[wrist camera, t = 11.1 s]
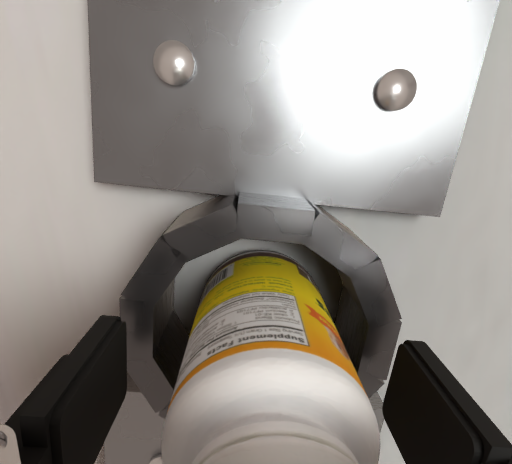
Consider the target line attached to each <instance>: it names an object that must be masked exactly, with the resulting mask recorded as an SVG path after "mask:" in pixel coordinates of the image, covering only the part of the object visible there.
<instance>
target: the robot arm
mask: <svg viewBox="0 0 512 464" xmlns="http://www.w3.org/2000/svg"><path fill="white" fill-rule="evenodd" d="M126 392H127V327H126V322H124V321H121V317H118V316H106V315H102V316H101V317H100V318H99V319H98V320H97V321H96V322H95V324H94V325H93V326H92V327H91V329H90V330H89V331H88V332H87V333H86V335H85V336H84V337H83V338H82V339H81V341H80V342H79V343H78V344H77V346H76V347H75V348H74V349H73V350H72V352H71V353H70V354H69V355H64V356H63V357H62V358H60V359H59V361H58V362H57V363H56V364H55V365H54V366H53V368H52V369H51V370H50V371H49V372H48V374H47V375H46V376H45V377H44V378H43V379H42V381H41V382H40V383H39V384H38V385H37V386H36V388H35V389H34V390H33V391H32V392H31V394H30V395H29V396H28V397H27V398H26V399H25V401H24V402H23V403H22V404H21V405H20V407H19V408H18V409H17V410H16V411H15V412H14V414H13V415H12V416H11V417H10V418H9V419H8V421H7V422H6V423H5V424H4V425H2V424H0V464H94V462H95V460H96V458H97V456H98V454H99V452H100V450H101V448H102V445H103V443H104V441H105V439H106V437H107V435H108V433H109V431H110V429H111V427H112V424H113V422H114V420H115V418H116V416H117V414H118V412H119V410H120V408H121V405H122V403H123V401H124V399H125V396H126ZM382 412H383V416H384V419H385V421H386V423H387V425H388V427H389V429H390V432H391V434H392V436H393V438H394V440H395V442H396V444H397V446H398V448H399V450H400V453H401V455H402V457H403V459H404V461H405V463H406V464H512V444H511V443H510V442H509V441H508V440H507V438H506V437H505V436H504V435H503V434H502V433H501V431H500V430H499V429H498V428H497V427H496V426H495V424H494V423H493V422H492V421H491V420H490V418H489V417H488V416H487V415H486V414H485V413H484V411H483V410H482V409H481V408H480V407H479V405H478V404H477V403H476V402H475V401H474V400H473V398H472V397H471V396H470V395H469V394H468V392H467V391H466V390H465V389H464V388H463V387H462V385H461V384H460V383H459V382H458V381H457V380H456V378H455V377H454V376H453V375H452V374H451V372H450V371H449V370H448V369H447V368H446V367H445V365H444V364H443V363H442V362H441V361H440V359H439V358H438V357H437V356H436V355H435V354H434V352H433V351H432V350H431V349H430V348H429V347H428V345H427V344H426V343H425V342H422V341H411V340H406V341H405V342H404V343H403V344H400V345H399V347H398V350H397V354H396V358H395V362H394V365H393V369H392V373H391V376H390V380H389V384H388V387H387V391H386V395H385V398H384V402H383V406H382Z"/></svg>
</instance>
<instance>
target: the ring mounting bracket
mask: <svg viewBox="0 0 512 464" xmlns="http://www.w3.org/2000/svg"><path fill="white" fill-rule="evenodd" d="M499 2H500V0H88V22H89V49H90V77H91V104H92V131H93V158H94V182H100V183H110V184H120V185H130V186H140V187H150V188H159V189H169V190H179V191H189V192H199V193H209V194H219V196H217V197H215V198H213V199H210V200H208V201H206V202H204V203H201V204H199V205H197V206H195V207H193V208H190V209H188V210H186V211H184V212H183V213H182V214H180V215H179V216H178V217H177V218H176V220H175V221H174V222H173V223H172V224H171V225H170V226H169V227H168V229H167V230H166V231H165V232H164V233H163V234H162V235H161V237H160V238H159V239H158V240H157V242H156V243H155V245H154V246H153V248H152V249H151V251H150V252H149V254H148V255H147V257H146V258H145V260H144V261H143V263H142V264H141V266H140V267H139V269H138V270H137V272H136V273H135V274H134V276H133V277H132V279H131V280H130V282H129V283H128V285H127V286H126V288H125V289H124V291H123V292H122V294H121V295H122V297H121V298H120V317H121V321H124V322H126V327H127V372H128V373H127V392H126V396H125V399H124V401H123V403H122V405H121V408H120V410H119V412H118V414H117V416H116V418H115V420H114V422H113V424H112V427H111V429H110V431H109V433H108V435H107V437H106V439H105V441H104V457H105V464H163V461H162V452H161V442H162V434H163V428H164V423H165V419H166V415H167V411H168V408H169V405H170V401H171V398H172V394H173V391H174V387H175V384H176V381H177V378H178V374H179V371H180V367H181V364H182V360H183V357H184V354H185V350H186V347H187V343H188V340H189V335H188V334H187V332H186V330H185V329H184V327H183V325H182V324H181V322H180V320H179V318H178V317H177V315H176V313H175V312H174V310H173V306H174V279H175V276H176V275H177V274H178V272H179V271H180V269H181V268H182V267H183V265H184V264H185V263H186V262H188V261H190V260H192V259H195V258H197V257H199V256H202V255H204V254H206V253H209V252H211V251H213V250H216V249H218V248H220V247H223V246H225V245H227V244H230V243H232V242H234V241H237V240H239V239H241V238H242V239H253V240H263V241H274V242H284V243H295V244H304V245H305V246H307V247H308V248H309V249H311V250H312V251H314V252H315V253H316V254H318V255H319V256H321V257H322V258H324V259H325V260H326V261H328V262H329V263H331V264H332V265H333V266H335V267H336V268H337V270H338V273H339V275H340V278H341V280H342V282H343V287H342V292H341V297H340V302H339V307H338V312H337V317H336V322H335V326H336V329H337V331H338V334H339V336H340V338H341V340H342V342H343V344H344V347H345V349H346V351H347V353H348V355H349V357H350V359H351V362H352V364H353V366H354V368H355V370H356V372H357V375H358V377H359V379H360V381H361V383H362V386H363V388H364V390H365V392H366V394H367V396H368V398H369V401H370V403H371V406H372V408H373V411H374V413H375V416H376V419H377V423H378V427H379V433H380V431H381V428H382V424H383V421H384V416H383V412H382V406H383V402H382V400H381V398H380V396H379V394H378V392H376V391H377V390H378V389H379V388H380V387H381V386H382V385H383V384H384V382H383V380H387V376H388V372H389V368H390V365H391V361H392V357H393V354H394V350H395V346H396V342H397V339H398V335H399V331H400V327H401V324H402V322H401V321H400V320H399V319H402V318H401V315H400V312H399V310H398V307H397V304H396V301H395V298H394V296H393V293H392V290H391V287H390V284H389V281H388V279H387V276H386V273H385V270H384V267H383V264H382V262H381V259H380V258H379V257H378V255H377V254H376V253H375V252H374V251H373V250H372V249H370V248H369V247H368V246H367V245H366V244H365V243H364V242H363V241H362V240H361V239H360V238H359V237H358V236H357V235H355V234H354V233H353V232H352V231H351V230H350V229H349V228H348V227H347V226H345V225H344V224H342V223H341V222H340V221H338V220H337V219H336V218H334V217H333V216H332V215H330V214H329V213H328V212H326V211H325V210H324V209H322V208H321V207H320V206H318V205H327V206H337V207H347V208H356V209H366V210H376V211H386V212H396V213H406V214H416V215H425V216H435V217H440V215H441V211H442V208H443V204H444V200H445V197H446V193H447V190H448V186H449V182H450V179H451V175H452V172H453V168H454V164H455V161H456V157H457V154H458V150H459V146H460V143H461V139H462V135H463V132H464V128H465V125H466V121H467V117H468V114H469V110H470V107H471V103H472V99H473V96H474V92H475V89H476V85H477V81H478V78H479V74H480V71H481V67H482V63H483V60H484V56H485V52H486V49H487V45H488V42H489V38H490V34H491V31H492V27H493V24H494V20H495V16H496V13H497V9H498V6H499Z"/></svg>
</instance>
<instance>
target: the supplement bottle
mask: <svg viewBox="0 0 512 464" xmlns="http://www.w3.org/2000/svg"><path fill="white" fill-rule="evenodd" d="M161 452H162V461H163V464H378V460H379V454H380V433H379V427H378V423H377V419H376V416H375V413H374V411H373V408H372V406H371V403H370V401H369V398H368V396H367V394H366V392H365V390H364V388H363V386H362V383H361V381H360V379H359V377H358V375H357V372H356V370H355V368H354V366H353V364H352V362H351V359H350V357H349V355H348V353H347V351H346V349H345V347H344V344H343V342H342V340H341V338H340V336H339V334H338V331H337V329H336V326H335V324H334V323H333V320H332V318H331V316H330V314H329V312H328V310H327V308H326V305H325V303H324V301H323V299H322V297H321V295H320V292H319V290H318V288H317V286H316V284H315V282H314V280H313V279H312V277H311V276H310V274H309V273H308V272H307V271H306V270H305V269H304V268H303V267H302V266H301V265H300V264H299V263H298V262H296V261H295V260H293V259H291V258H290V257H287V256H285V255H282V254H279V253H275V252H270V251H252V252H247V253H243V254H240V255H237V256H235V257H233V258H231V259H229V260H227V261H226V262H225V263H223V264H222V265H221V266H220V267H218V268H217V269H216V270H215V272H214V273H213V274H212V275H211V277H210V278H209V280H208V282H207V284H206V286H205V288H204V291H203V294H202V297H201V300H200V303H199V306H198V310H197V313H196V316H195V319H194V323H193V326H192V330H191V333H190V336H189V340H188V343H187V347H186V350H185V354H184V357H183V360H182V364H181V367H180V371H179V374H178V378H177V381H176V384H175V387H174V391H173V394H172V398H171V401H170V405H169V408H168V411H167V415H166V419H165V423H164V428H163V434H162V442H161Z"/></svg>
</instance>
